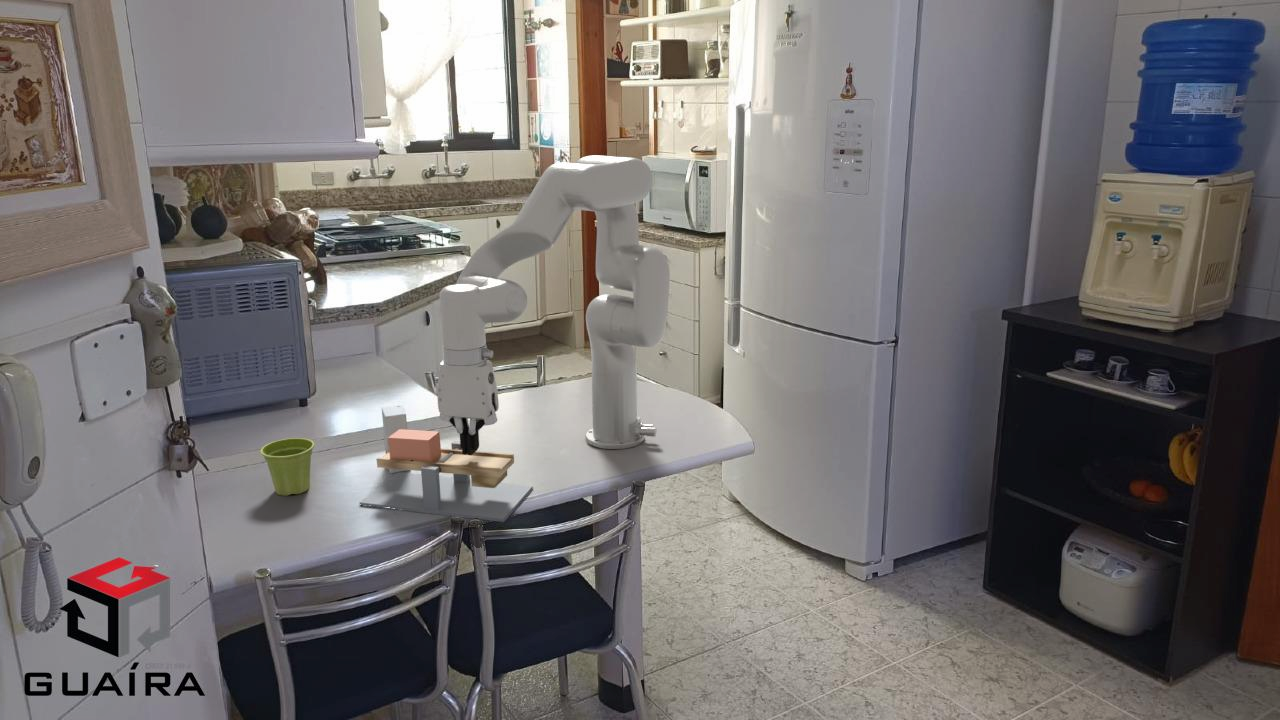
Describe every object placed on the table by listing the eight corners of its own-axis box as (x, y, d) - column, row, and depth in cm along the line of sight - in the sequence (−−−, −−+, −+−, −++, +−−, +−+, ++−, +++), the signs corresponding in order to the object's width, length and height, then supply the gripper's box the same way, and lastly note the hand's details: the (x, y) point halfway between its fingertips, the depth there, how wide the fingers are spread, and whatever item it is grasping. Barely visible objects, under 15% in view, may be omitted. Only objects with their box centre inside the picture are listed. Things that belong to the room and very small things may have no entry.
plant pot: (292, 503, 172) (287, 459, 169) (254, 494, 176) (249, 451, 173) (329, 484, 180) (324, 442, 177) (292, 476, 184) (287, 434, 181)
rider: (441, 454, 174) (439, 431, 173) (430, 463, 170) (428, 440, 169) (401, 451, 176) (399, 429, 175) (390, 460, 172) (387, 437, 171)
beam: (518, 471, 175) (517, 450, 174) (496, 493, 165) (495, 471, 164) (401, 461, 181) (399, 441, 180) (373, 483, 171) (371, 461, 170)
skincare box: (385, 462, 190) (381, 406, 187) (407, 459, 192) (403, 404, 188) (389, 473, 185) (384, 416, 182) (411, 470, 186) (406, 413, 183)
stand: (532, 489, 178) (531, 447, 175) (503, 522, 164) (501, 477, 162) (398, 474, 184) (395, 434, 182) (359, 505, 171) (355, 462, 169)
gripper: (512, 352, 167) (516, 448, 172) (435, 346, 171) (441, 441, 176) (496, 363, 160) (500, 464, 165) (415, 358, 164) (422, 456, 169)
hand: (470, 452), depth 170 cm, fingers closed
